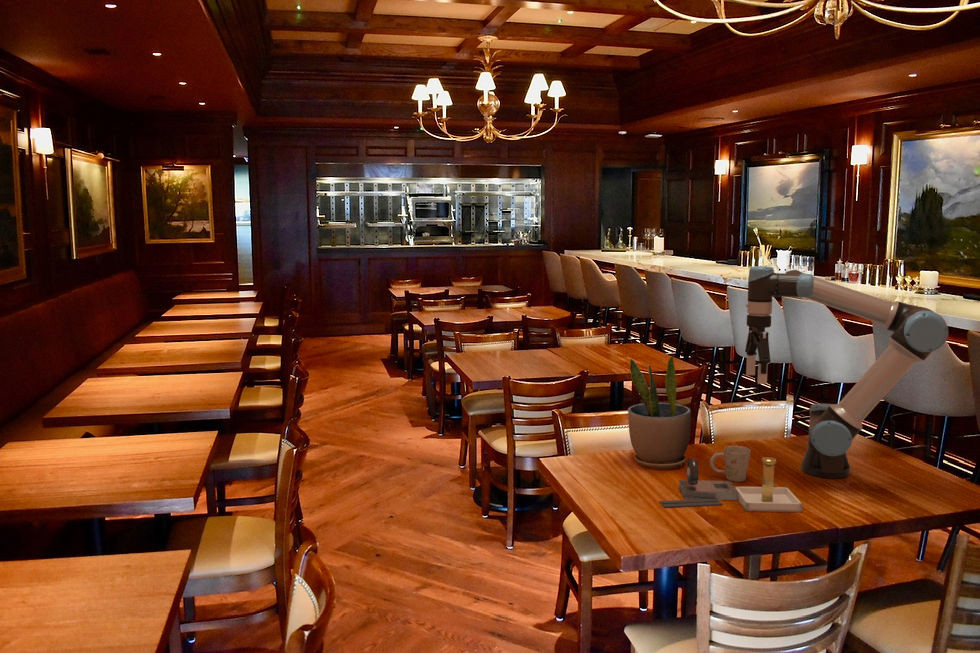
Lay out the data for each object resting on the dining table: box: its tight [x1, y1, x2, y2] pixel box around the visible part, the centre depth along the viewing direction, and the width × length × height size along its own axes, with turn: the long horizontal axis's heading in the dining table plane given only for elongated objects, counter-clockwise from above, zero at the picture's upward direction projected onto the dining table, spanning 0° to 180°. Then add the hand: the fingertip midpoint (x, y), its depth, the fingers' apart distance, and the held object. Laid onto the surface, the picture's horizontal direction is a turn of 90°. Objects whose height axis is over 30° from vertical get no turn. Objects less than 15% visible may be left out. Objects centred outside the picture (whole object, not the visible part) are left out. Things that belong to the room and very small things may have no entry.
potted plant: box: [627, 355, 692, 470], centre depth 274 cm, size 21×22×40 cm
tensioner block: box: [678, 458, 739, 501], centre depth 245 cm, size 16×10×11 cm, turn 87°
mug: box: [709, 445, 751, 483], centre depth 260 cm, size 8×13×10 cm, turn 78°
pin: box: [761, 456, 777, 502], centre depth 237 cm, size 4×4×13 cm
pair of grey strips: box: [658, 499, 723, 509], centre depth 238 cm, size 18×5×1 cm, turn 97°
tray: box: [735, 486, 803, 513], centre depth 238 cm, size 16×14×2 cm
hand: (756, 379), depth 258 cm, fingers open, 13 cm apart
